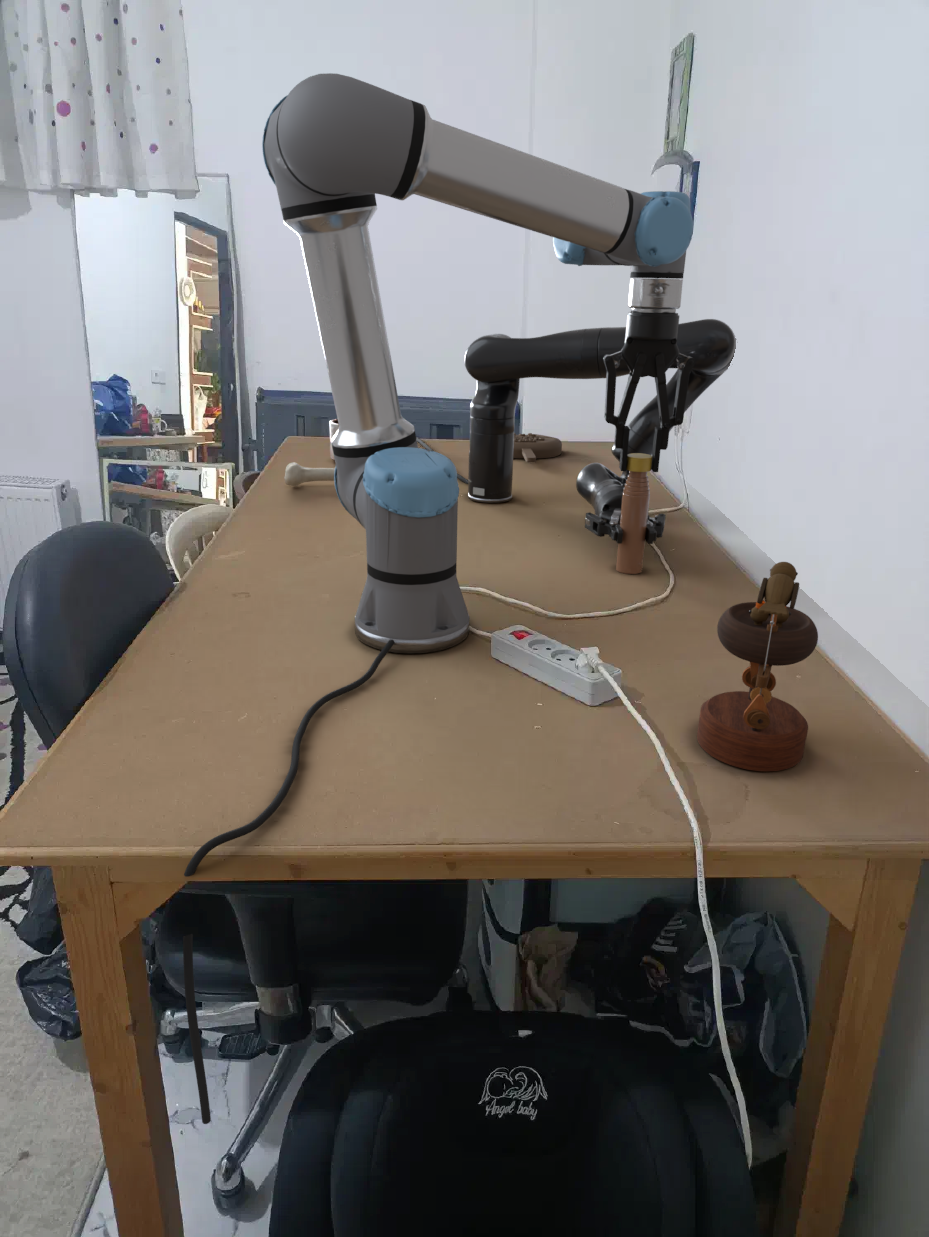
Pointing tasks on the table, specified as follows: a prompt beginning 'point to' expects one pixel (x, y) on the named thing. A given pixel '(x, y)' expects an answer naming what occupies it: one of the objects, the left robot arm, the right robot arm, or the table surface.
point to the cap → (639, 462)
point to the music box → (760, 680)
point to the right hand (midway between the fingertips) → (635, 537)
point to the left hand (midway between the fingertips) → (638, 469)
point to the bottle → (633, 523)
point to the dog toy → (306, 474)
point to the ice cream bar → (535, 447)
